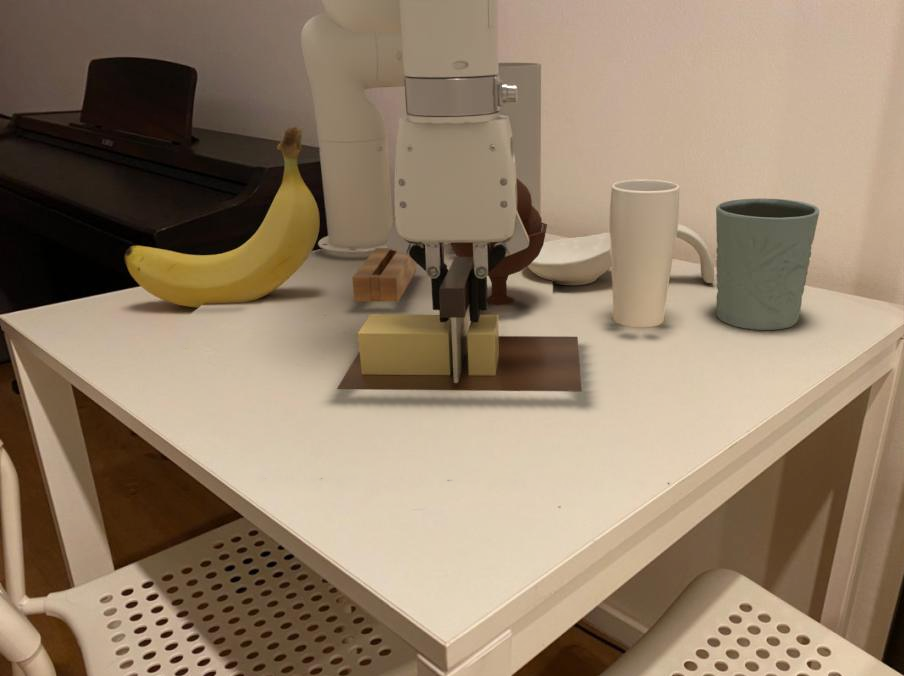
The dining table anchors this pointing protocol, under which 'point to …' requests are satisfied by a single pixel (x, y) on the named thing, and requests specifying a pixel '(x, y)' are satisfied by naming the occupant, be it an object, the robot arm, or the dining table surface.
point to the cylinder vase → (525, 123)
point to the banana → (239, 250)
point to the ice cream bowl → (516, 260)
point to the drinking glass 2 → (642, 249)
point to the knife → (457, 308)
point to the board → (517, 370)
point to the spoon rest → (598, 258)
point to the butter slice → (483, 346)
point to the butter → (405, 345)
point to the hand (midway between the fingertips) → (460, 315)
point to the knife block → (383, 276)
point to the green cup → (763, 261)
